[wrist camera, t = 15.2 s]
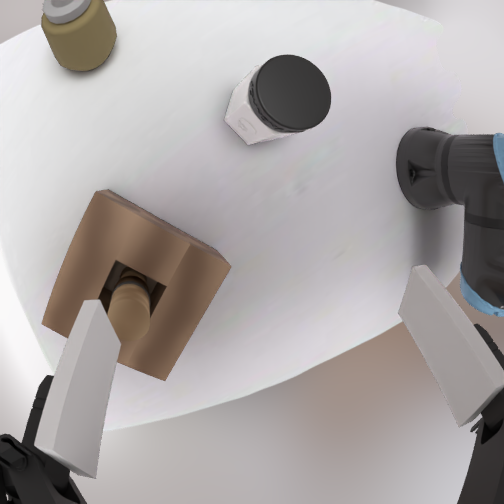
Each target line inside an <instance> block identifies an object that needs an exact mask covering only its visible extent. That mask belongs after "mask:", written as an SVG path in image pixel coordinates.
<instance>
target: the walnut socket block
mask: <svg viewBox="0 0 504 504" xmlns="http://www.w3.org/2000/svg"><path fill="white" fill-rule="evenodd" d="M127 266H128V267H130V268H132V269H134V270H136V271H138V272H140V273H142V274H144V275H146V277H147V286H148V289H149V295H150V327H149V330H148V332H147V333H146V334H145V335H144V336H143V337H142V338H140V339H138V340H135V341H125V340H122V339H119V338H118V339H119V341H120V343H121V347H120V351H119V355H118V359H117V362H118V363H121V364H123V365H125V366H128V367H130V368H133V369H135V370H137V371H140V372H142V373H145V374H147V375H150V376H153V377H155V378H158V379H160V380H163V381H165V380H166V379H167V377H168V375H169V373H170V372H171V370H172V368H173V366H174V365H175V363H176V361H177V359H178V358H179V356H180V354H181V353H182V351H183V349H184V347H185V346H186V344H187V342H188V340H189V339H190V337H191V335H192V334H193V332H194V330H195V328H196V327H197V325H198V323H199V321H200V320H201V318H202V316H203V315H204V313H205V311H206V309H207V308H208V306H209V304H210V303H211V301H212V299H213V297H214V296H215V294H216V292H217V291H218V289H219V287H220V285H221V284H222V282H223V280H224V279H225V277H226V275H227V274H228V272H229V270H230V268H231V267H232V266H231V265H230V264H229V263H228V262H227V261H226V260H225V259H224V258H223V257H222V255H221V254H220V253H219V252H218V251H217V250H216V249H214V248H212V247H210V246H208V245H206V244H205V243H203V242H201V241H199V240H197V239H196V238H194V237H192V236H190V235H188V234H187V233H185V232H183V231H181V230H179V229H178V228H176V227H174V226H172V225H170V224H169V223H167V222H165V221H163V220H162V219H160V218H158V217H156V216H154V215H153V214H151V213H149V212H147V211H146V210H144V209H142V208H140V207H138V206H137V205H135V204H133V203H131V202H130V201H128V200H126V199H124V198H123V197H121V196H119V195H117V194H116V193H114V192H112V191H110V190H109V189H107V190H101V191H96V192H95V194H94V196H93V198H92V200H91V202H90V204H89V206H88V208H87V210H86V212H85V214H84V216H83V218H82V220H81V222H80V224H79V227H78V229H77V231H76V233H75V235H74V238H73V240H72V242H71V244H70V247H69V249H68V252H67V254H66V256H65V259H64V261H63V264H62V266H61V269H60V271H59V274H58V277H57V279H56V282H55V285H54V287H53V290H52V293H51V296H50V299H49V302H48V305H47V308H46V311H45V314H44V317H43V321H42V325H44V326H46V327H48V328H50V329H51V330H53V331H55V332H57V333H59V334H61V335H62V336H64V337H66V338H69V335H70V333H71V330H72V328H73V325H74V323H75V321H76V318H77V316H78V314H79V311H80V309H81V307H82V305H83V302H84V300H99V299H100V301H101V303H102V306H103V308H104V310H105V312H106V314H108V310H109V306H110V303H111V295H112V292H113V290H114V288H115V285H116V283H117V282H118V281H119V279H120V275H121V272H122V270H123V269H124V268H125V267H127Z"/></svg>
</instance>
